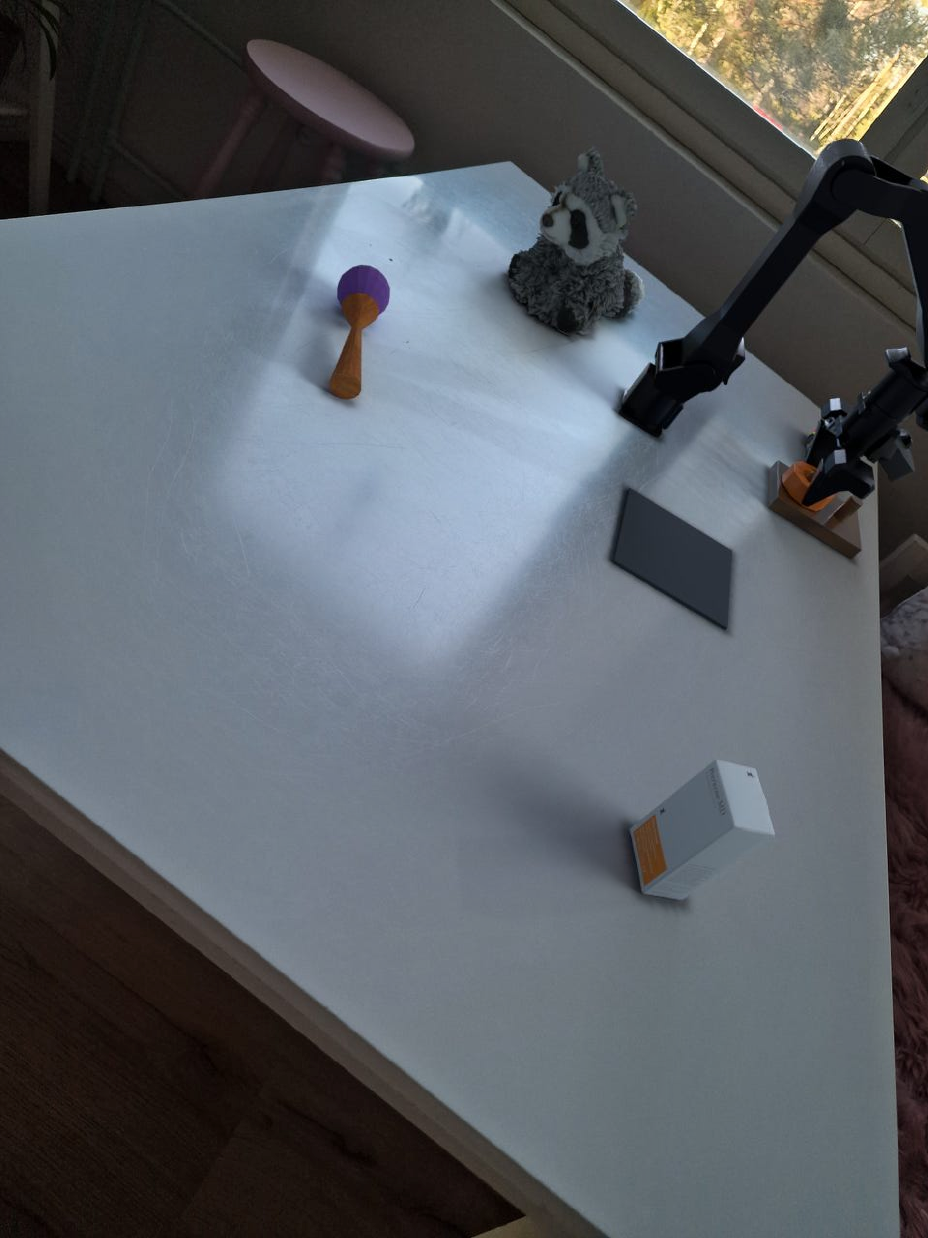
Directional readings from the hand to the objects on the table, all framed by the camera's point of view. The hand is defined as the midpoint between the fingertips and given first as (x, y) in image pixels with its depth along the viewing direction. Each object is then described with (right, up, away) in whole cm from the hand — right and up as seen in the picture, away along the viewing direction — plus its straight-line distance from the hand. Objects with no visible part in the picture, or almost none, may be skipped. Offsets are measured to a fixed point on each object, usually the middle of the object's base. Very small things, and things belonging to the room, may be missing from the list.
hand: (803, 490), depth 136 cm
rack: (+1, -3, +2) cm, 4 cm away
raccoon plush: (-32, +29, +9) cm, 44 cm away
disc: (0, 0, 0) cm, 0 cm away
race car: (+7, +6, +14) cm, 17 cm away
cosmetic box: (-31, -38, -53) cm, 73 cm away
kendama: (-60, +12, -26) cm, 66 cm away
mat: (-22, -10, -22) cm, 33 cm away
